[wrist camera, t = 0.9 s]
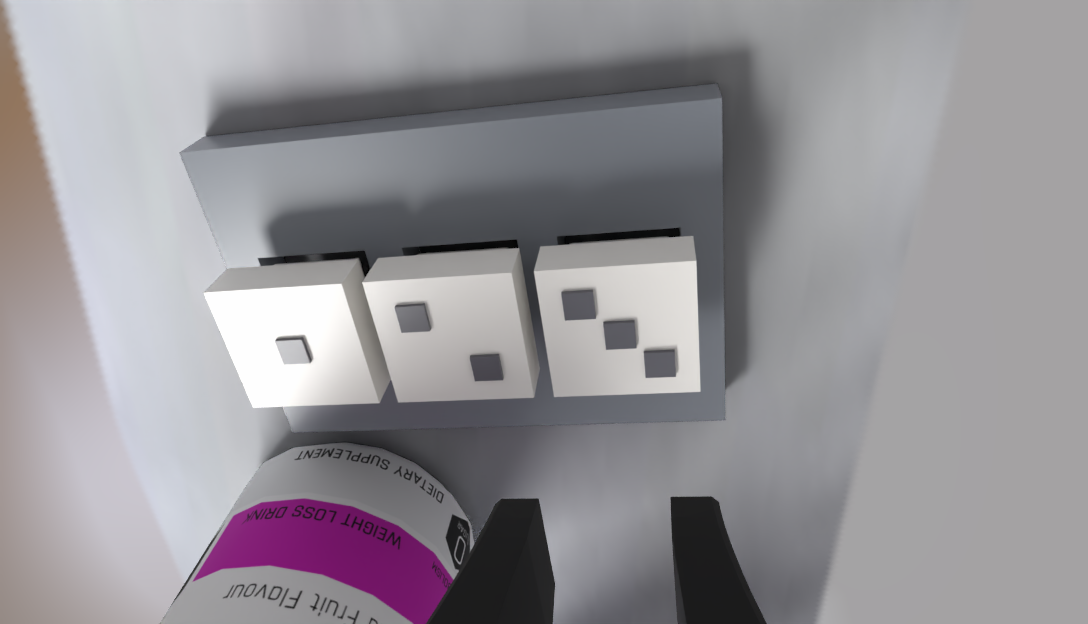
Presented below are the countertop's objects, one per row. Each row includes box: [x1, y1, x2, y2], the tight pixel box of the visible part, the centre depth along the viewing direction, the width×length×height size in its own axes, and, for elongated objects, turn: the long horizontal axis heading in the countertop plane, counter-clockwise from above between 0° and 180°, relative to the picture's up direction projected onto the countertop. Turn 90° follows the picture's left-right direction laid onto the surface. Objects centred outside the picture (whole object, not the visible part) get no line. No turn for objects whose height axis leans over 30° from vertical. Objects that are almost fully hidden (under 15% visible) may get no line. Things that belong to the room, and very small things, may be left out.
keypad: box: [180, 83, 725, 433], centre depth 20 cm, size 9×13×1 cm
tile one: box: [204, 258, 391, 408], centre depth 19 cm, size 4×4×2 cm
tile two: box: [362, 247, 540, 403], centre depth 18 cm, size 4×4×2 cm
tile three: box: [534, 236, 701, 397], centre depth 18 cm, size 4×4×2 cm
